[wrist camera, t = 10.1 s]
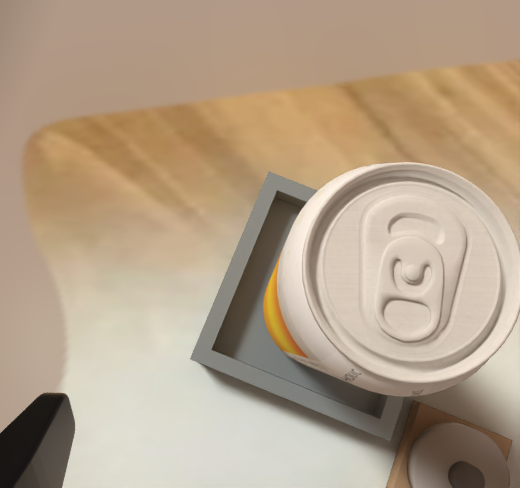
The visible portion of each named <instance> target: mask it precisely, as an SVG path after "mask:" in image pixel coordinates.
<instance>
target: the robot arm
mask: <svg viewBox="0 0 520 488" xmlns="http://www.w3.org/2000/svg"><path fill="white" fill-rule="evenodd" d="M74 433H75V420H74V416H73V412H72V409H71V405H70V401H69V398H68V396H67V395H66V394H65V393H43V394H41V395H40V396H39V397H38V398H36V399H35V400H34V401H33V402H32V403H31V404H30V405H29V406H28V407H27V408H26V409H25V410H24V411H23V412H22V413H21V414H20V415H19V416H18V417H17V418H16V419H15V420H14V421H12V422H11V424H9V425H8V426H7V427H6V428H5V429H4V430H3V431H2V432H1V433H0V488H62V485H63V481H64V477H65V472H66V468H67V464H68V459H69V455H70V451H71V447H72V442H73V438H74Z"/></svg>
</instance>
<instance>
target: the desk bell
mask: <svg viewBox="0 0 520 488" xmlns="http://www.w3.org/2000/svg"><path fill="white" fill-rule="evenodd" d="M511 444H512V440H510V439H508V438H505V437H503V436H500V435H498V434H496V433H493V432H491V431H488V430H486V429H483V428H481V427H478V426H476V425H473V424H471V423H469V422H466V421H464V420H461V419H459V418H456V417H454V416H451V415H449V414H447V413H444V412H442V411H439V410H437V409H434V408H432V407H429V406H427V405H425V404H422V403H420V402H417V401H413V405H412V408H411V411H410V414H409V417H408V420H407V423H406V426H405V430H404V433H403V436H402V439H401V442H400V445H399V448H398V451H397V455H396V458H395V461H394V464H393V467H392V470H391V473H390V476H389V480H388V483H387V486H386V488H509V486H510V476H509V470H508V466H507V458H508V454H509V451H510V447H511Z"/></svg>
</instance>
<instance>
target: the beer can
mask: <svg viewBox="0 0 520 488" xmlns="http://www.w3.org/2000/svg"><path fill="white" fill-rule="evenodd" d="M263 312H264V319H265V323H266V327H267V329H268V332H269V334H270V336H271V338H272V339H273V341H274V342H275V344H276V345H277V346H278V347H279V348H280V349H281V350H282V351H283V352H284V353H285V354H286V355H287V356H289V357H290V358H292V359H293V360H295V361H297V362H299V363H302V364H304V365H307V366H309V367H311V368H314V369H316V370H319V371H321V372H324V373H326V374H329V375H331V376H333V377H336V378H338V379H341V380H343V381H346V382H348V383H351V384H353V385H355V386H358V387H361V388H363V389H366V390H368V391H372V392H376V393H380V394H384V395H391V396H421V395H428V394H432V393H436V392H440V391H442V390H445V389H448V388H450V387H453V386H455V385H456V384H458V383H460V382H462V381H464V380H466V379H467V378H468V377H470V376H471V375H472V374H474V373H475V372H476V371H478V370H479V369H480V368H481V367H482V366H483V365H484V364H485V363H486V362H487V361H488V360H489V358H490V357H492V356H493V355H494V354H495V353H496V352H497V351H498V350H499V348H500V347H501V346H502V345H503V343H504V342H505V341H506V339H507V338H508V336H509V335H510V333H511V331H512V329H513V327H514V325H515V323H516V321H517V318H518V315H519V312H520V248H519V244H518V241H517V239H516V236H515V234H514V232H513V230H512V228H511V226H510V224H509V222H508V220H507V219H506V217H505V216H504V214H503V213H502V212H501V210H500V209H499V208H498V206H497V205H496V204H495V203H494V202H493V201H492V200H491V199H490V198H489V197H488V196H487V195H486V194H485V193H484V192H483V191H482V190H481V189H479V188H478V187H477V186H475V185H474V184H473V183H471V182H470V181H468V180H466V179H465V178H463V177H461V176H459V175H457V174H455V173H453V172H451V171H448V170H446V169H443V168H440V167H437V166H432V165H428V164H422V163H410V162H401V163H383V164H374V165H369V166H364V167H360V168H357V169H354V170H352V171H349V172H347V173H345V174H343V175H340V176H338V177H337V178H335V179H334V180H332V181H330V182H329V183H327V184H326V185H325V186H323V187H322V188H321V189H320V190H319V191H317V192H316V193H315V194H314V195H313V196H312V198H311V199H310V200H309V201H308V202H307V203H306V205H305V206H304V207H303V208H302V210H301V211H300V213H299V215H298V216H297V218H296V220H295V221H294V224H293V226H292V228H291V230H290V233H289V235H288V238H287V240H286V242H285V245H284V247H283V250H282V252H281V254H280V257H279V259H278V262H277V264H276V266H275V269H274V271H273V274H272V276H271V278H270V281H269V283H268V286H267V288H266V292H265V296H264V303H263Z"/></svg>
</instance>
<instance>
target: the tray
mask: <svg viewBox="0 0 520 488" xmlns="http://www.w3.org/2000/svg"><path fill="white" fill-rule="evenodd" d="M316 192H317V190H314V189H312V188H309V187H307V186H304V185H302V184H299V183H297V182H294V181H292V180H289V179H287V178H284V177H281V176H279V175H276V174H274V173H271V172H268V174H267V177H266V179H265V181H264V184H263V186H262V189H261V191H260V193H259V196H258V198H257V201H256V203H255V205H254V208H253V210H252V212H251V215H250V217H249V220H248V222H247V224H246V227H245V229H244V232H243V234H242V236H241V239H240V241H239V243H238V246H237V248H236V251H235V253H234V255H233V258H232V260H231V263H230V265H229V267H228V270H227V272H226V275H225V277H224V279H223V282H222V284H221V286H220V289H219V291H218V294H217V296H216V298H215V301H214V303H213V306H212V308H211V310H210V313H209V315H208V317H207V320H206V322H205V325H204V327H203V329H202V332H201V334H200V337H199V339H198V341H197V344H196V346H195V348H194V351H193V353H192V356H191V358H190V359H191V360H194V361H196V362H198V363H201V364H203V365H206V366H208V367H210V368H213V369H215V370H218V371H220V372H223V373H225V374H227V375H230V376H232V377H235V378H237V379H239V380H242V381H244V382H247V383H249V384H252V385H254V386H256V387H259V388H261V389H264V390H266V391H269V392H271V393H273V394H276V395H278V396H281V397H283V398H285V399H288V400H290V401H293V402H295V403H298V404H300V405H302V406H305V407H307V408H310V409H312V410H315V411H317V412H319V413H322V414H324V415H327V416H329V417H331V418H334V419H336V420H339V421H341V422H344V423H346V424H348V425H351V426H353V427H356V428H358V429H360V430H363V431H365V432H368V433H370V434H373V435H375V436H377V437H380V438H382V439H385V440H387V441H391V438H392V435H393V432H394V429H395V426H396V423H397V420H398V416H399V413H400V410H401V407H402V404H403V401H404V398H405V396H391V395H384V394H380V393H376V392H372V391H368V390H366V389H363V388H361V387H358V386H355V385H353V384H351V383H348V382H346V381H343V380H341V379H338V378H336V377H333V376H331V375H329V374H326V373H324V372H321V371H319V370H316V369H314V368H311V367H309V366H307V365H304V364H302V363H299V362H297V361H295V360H293V359H292V358H290V357H289V356H287V355H286V354H285V353H284V352H283V351H282V350H281V349H280V348H279V347H278V346H277V345H276V344H275V342H274V341H273V339H272V338H271V336H270V334H269V332H268V329H267V327H266V323H265V319H264V312H263V303H264V296H265V292H266V288H267V286H268V283H269V281H270V278H271V276H272V274H273V271H274V269H275V266H276V264H277V262H278V259H279V257H280V254H281V252H282V250H283V247H284V245H285V242H286V240H287V238H288V235H289V233H290V230H291V228H292V226H293V224H294V221H295V220H296V218H297V216H298V215H299V213H300V211H301V210H302V208H303V207H304V206H305V205H306V203H307V202H308V201H309V200H310V199H311V198H312V196H313V195H314V194H315V193H316Z"/></svg>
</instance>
